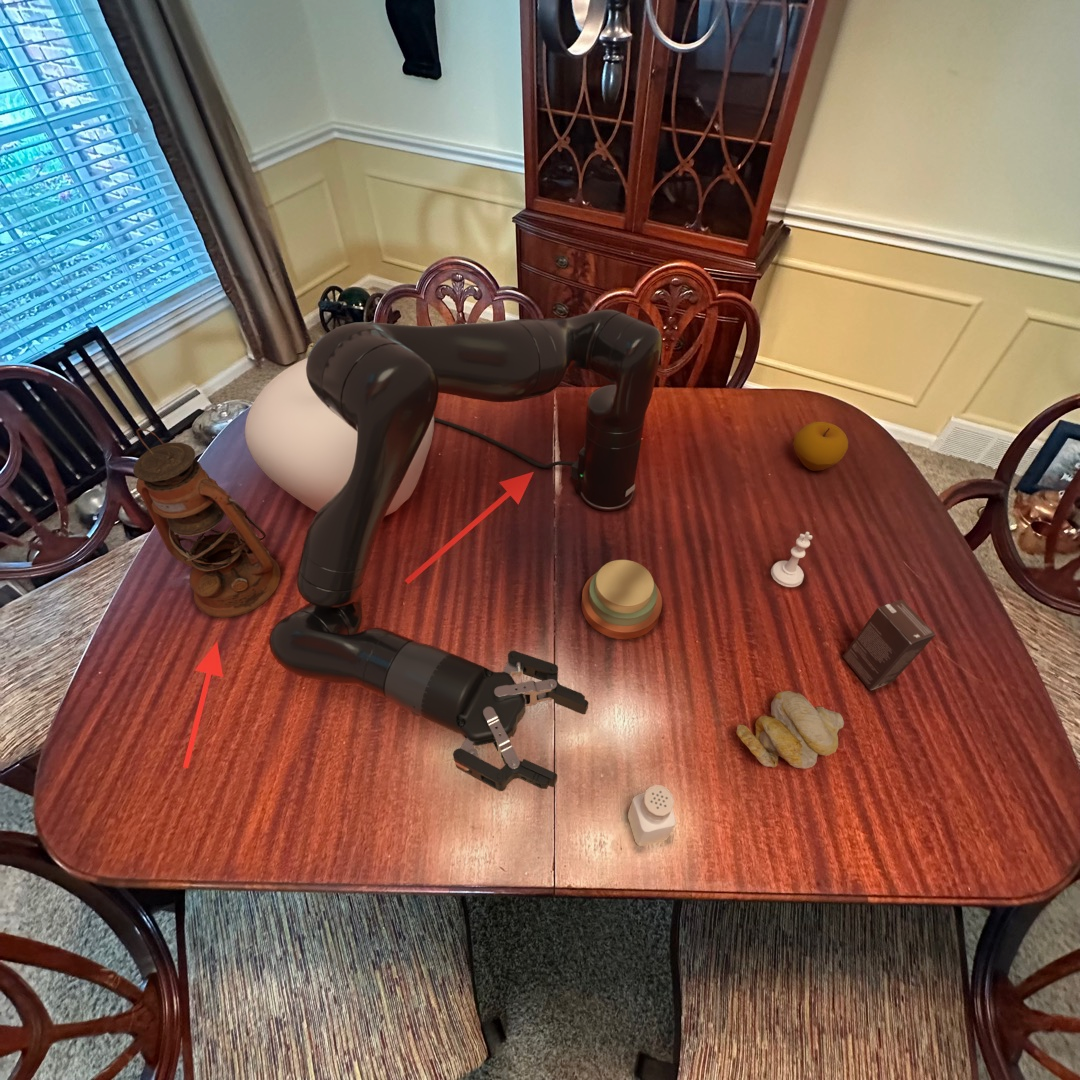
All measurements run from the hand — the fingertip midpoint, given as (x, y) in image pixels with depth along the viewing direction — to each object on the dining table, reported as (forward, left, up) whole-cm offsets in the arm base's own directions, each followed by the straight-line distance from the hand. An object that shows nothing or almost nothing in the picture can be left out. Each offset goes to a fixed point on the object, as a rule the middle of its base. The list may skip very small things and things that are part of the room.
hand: (572, 743), depth 62 cm
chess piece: (+11, +48, -15) cm, 51 cm away
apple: (+6, +76, -15) cm, 78 cm away
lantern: (-60, -2, -15) cm, 62 cm away
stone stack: (+20, +22, -15) cm, 33 cm away
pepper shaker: (+10, +2, -15) cm, 18 cm away
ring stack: (-8, +28, -15) cm, 32 cm away
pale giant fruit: (-57, +23, -15) cm, 63 cm away
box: (+26, +38, -15) cm, 48 cm away
